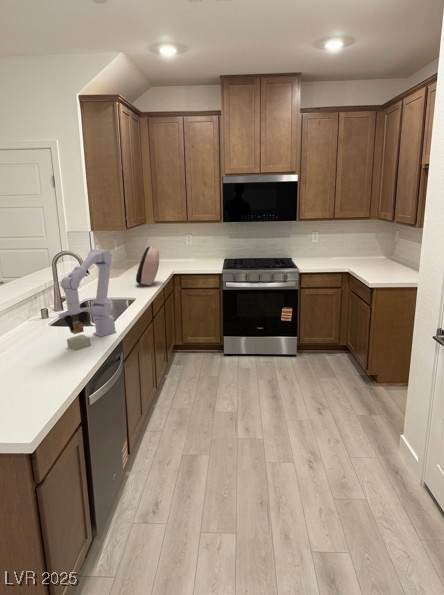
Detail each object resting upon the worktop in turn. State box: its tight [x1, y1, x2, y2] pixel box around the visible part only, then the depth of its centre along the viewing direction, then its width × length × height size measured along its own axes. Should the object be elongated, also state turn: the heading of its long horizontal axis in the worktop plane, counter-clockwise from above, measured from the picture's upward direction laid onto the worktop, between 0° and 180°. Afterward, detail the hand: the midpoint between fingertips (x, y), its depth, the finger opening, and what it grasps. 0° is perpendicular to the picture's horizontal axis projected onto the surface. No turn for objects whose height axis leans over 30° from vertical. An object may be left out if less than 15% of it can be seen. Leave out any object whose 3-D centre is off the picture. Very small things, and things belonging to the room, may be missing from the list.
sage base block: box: [66, 334, 92, 351], centre depth 199 cm, size 8×8×4 cm
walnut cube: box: [69, 320, 84, 335], centre depth 197 cm, size 4×4×4 cm
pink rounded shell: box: [135, 246, 160, 286], centre depth 324 cm, size 22×20×30 cm
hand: (76, 329), depth 197 cm, fingers closed on walnut cube, 4 cm apart
